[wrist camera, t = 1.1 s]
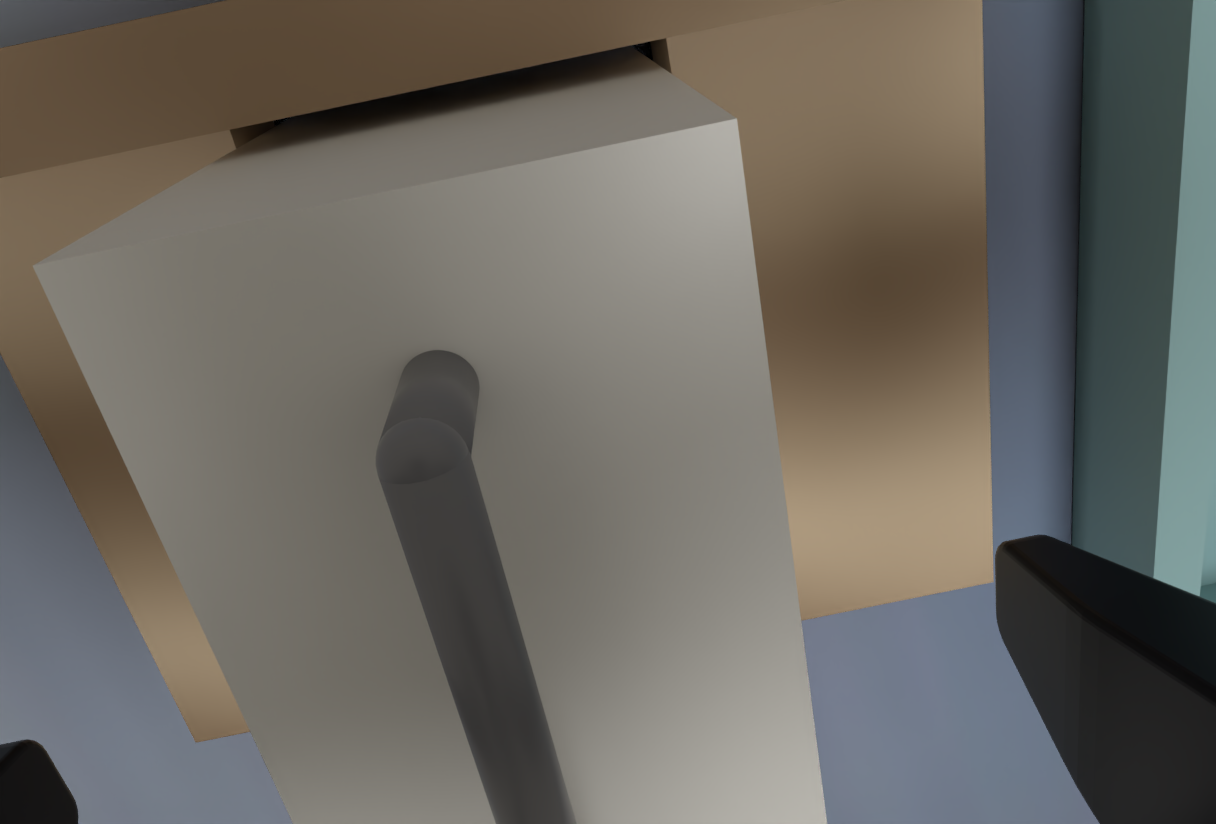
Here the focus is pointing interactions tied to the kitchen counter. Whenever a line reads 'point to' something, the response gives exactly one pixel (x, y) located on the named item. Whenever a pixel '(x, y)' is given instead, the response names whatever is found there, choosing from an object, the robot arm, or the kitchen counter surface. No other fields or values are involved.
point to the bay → (779, 217)
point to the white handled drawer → (471, 451)
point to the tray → (1148, 292)
